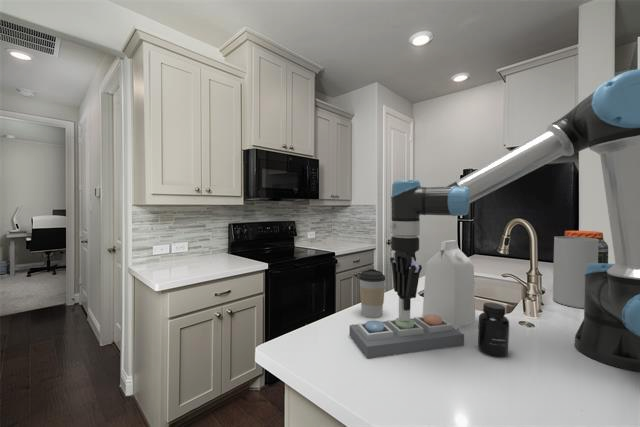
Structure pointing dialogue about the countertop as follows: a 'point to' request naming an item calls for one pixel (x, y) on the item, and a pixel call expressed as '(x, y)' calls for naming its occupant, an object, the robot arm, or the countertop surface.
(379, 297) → the coffee cup
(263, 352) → the countertop surface
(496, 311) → the supplement bottle
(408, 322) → the button sage
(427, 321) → the button terracotta
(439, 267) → the milk
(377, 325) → the button slate
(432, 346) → the panel
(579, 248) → the cylinder vase
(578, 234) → the supplement tub
